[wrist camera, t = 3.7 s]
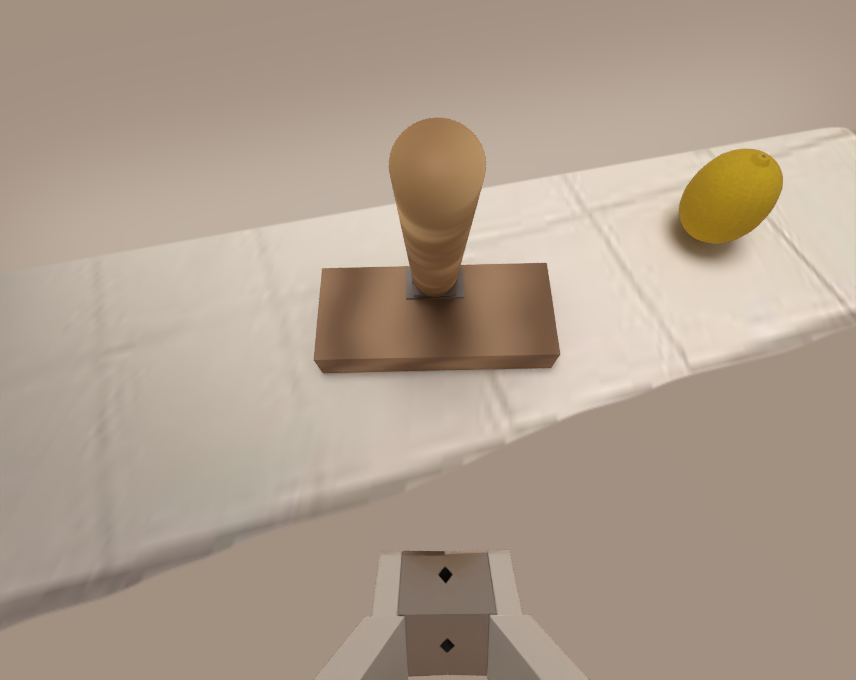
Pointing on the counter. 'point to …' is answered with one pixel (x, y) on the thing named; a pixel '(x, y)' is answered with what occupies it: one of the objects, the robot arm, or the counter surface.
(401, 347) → the brown wooden block
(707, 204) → the lemon
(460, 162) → the tan wooden peg
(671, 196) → the counter surface
